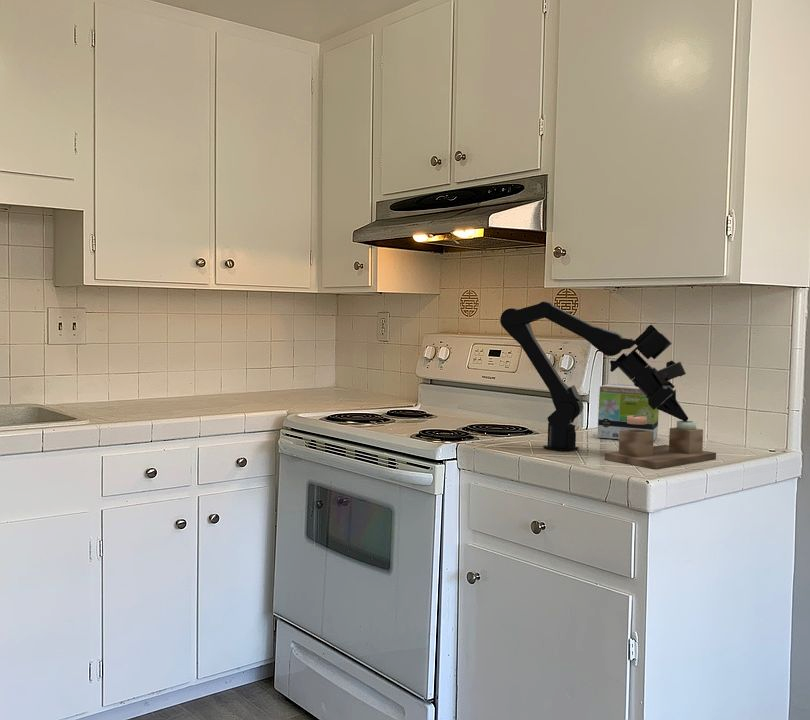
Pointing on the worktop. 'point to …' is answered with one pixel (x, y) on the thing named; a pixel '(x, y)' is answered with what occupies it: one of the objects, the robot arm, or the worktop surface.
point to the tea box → (623, 410)
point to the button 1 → (637, 419)
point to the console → (660, 449)
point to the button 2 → (686, 425)
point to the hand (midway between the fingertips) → (687, 420)
